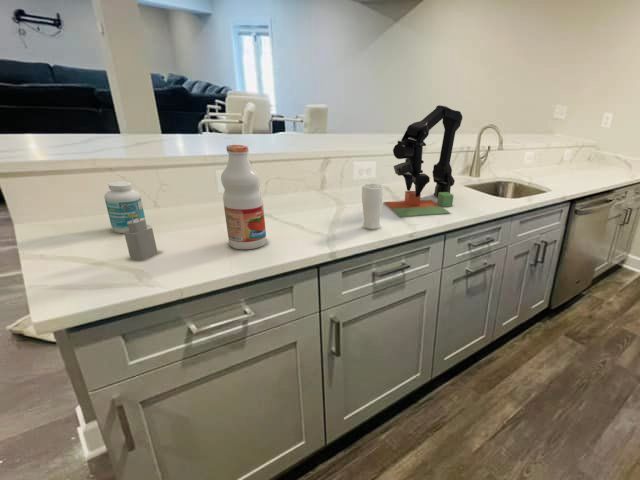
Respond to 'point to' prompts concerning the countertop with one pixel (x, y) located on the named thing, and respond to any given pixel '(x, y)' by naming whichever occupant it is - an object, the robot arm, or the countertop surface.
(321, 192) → the countertop surface
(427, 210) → the sorting mat
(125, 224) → the pill bottle
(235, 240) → the fruit juice
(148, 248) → the power adapter
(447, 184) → the robot arm
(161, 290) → the countertop surface
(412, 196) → the terracotta block
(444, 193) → the sage block
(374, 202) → the drinking glass
